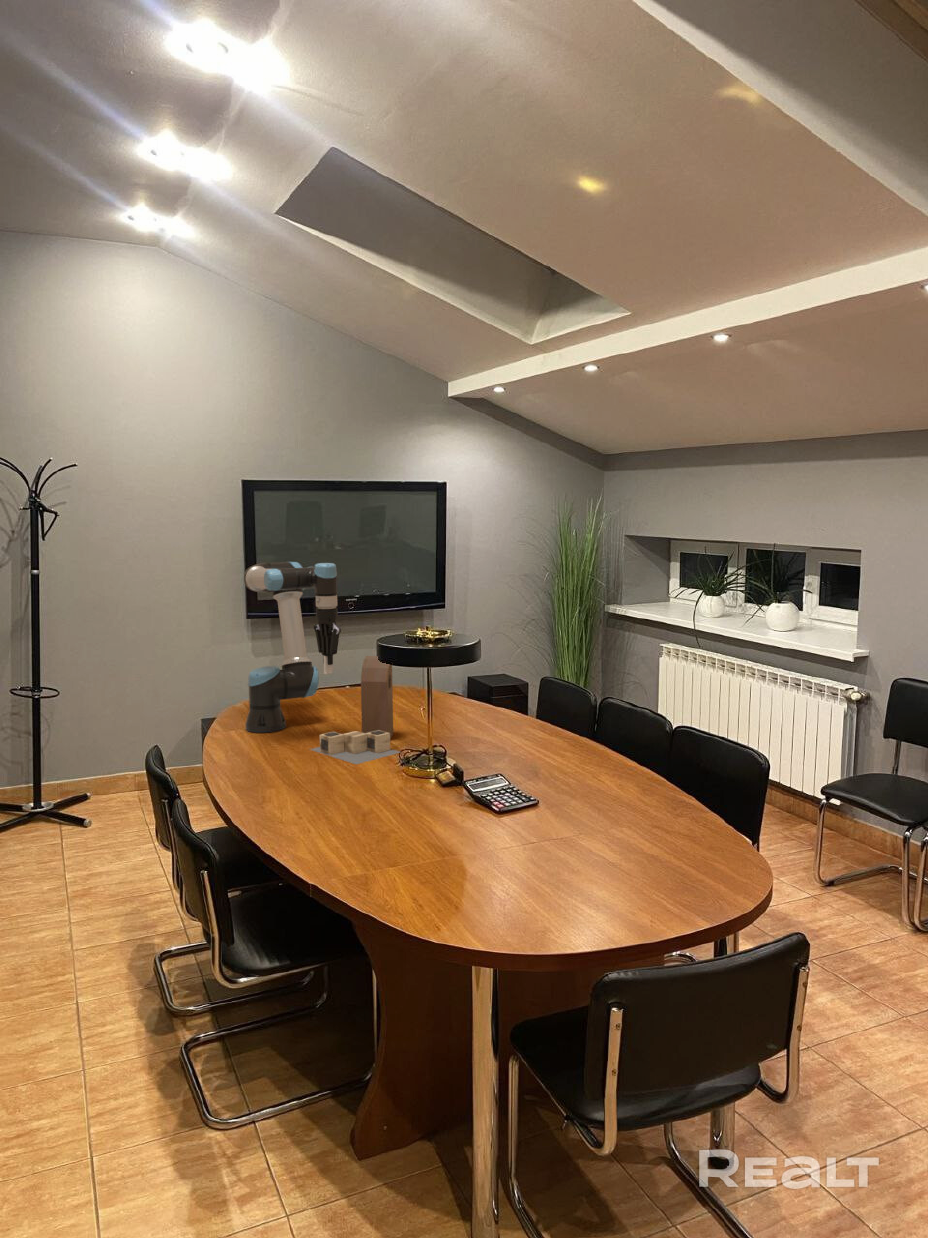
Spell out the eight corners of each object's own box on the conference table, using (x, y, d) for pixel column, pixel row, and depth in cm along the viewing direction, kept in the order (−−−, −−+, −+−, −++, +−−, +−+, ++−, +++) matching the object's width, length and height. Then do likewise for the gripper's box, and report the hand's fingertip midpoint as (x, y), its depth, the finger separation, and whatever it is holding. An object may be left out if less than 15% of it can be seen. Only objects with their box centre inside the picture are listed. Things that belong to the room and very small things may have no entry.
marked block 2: (365, 750, 324) (364, 732, 324) (379, 746, 329) (378, 729, 328) (376, 753, 320) (376, 735, 319) (390, 749, 325) (389, 732, 324)
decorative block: (393, 735, 346) (392, 656, 342) (388, 742, 336) (387, 661, 332) (367, 735, 347) (365, 655, 343) (362, 742, 337) (360, 660, 333)
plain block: (343, 750, 324) (342, 734, 323) (356, 747, 328) (356, 730, 327) (353, 754, 320) (353, 737, 319) (367, 750, 324) (367, 733, 323)
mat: (309, 751, 326) (309, 749, 326) (354, 739, 340) (354, 738, 340) (356, 766, 308) (356, 764, 308) (401, 753, 322) (401, 752, 322)
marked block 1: (319, 751, 323) (318, 734, 322) (333, 748, 327) (333, 730, 326) (329, 755, 319) (329, 737, 318) (344, 751, 323) (343, 733, 322)
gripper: (306, 606, 327) (308, 672, 331) (329, 610, 318) (331, 677, 321) (323, 604, 333) (325, 669, 336) (346, 608, 323) (348, 674, 327)
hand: (328, 673), depth 329 cm, fingers closed
